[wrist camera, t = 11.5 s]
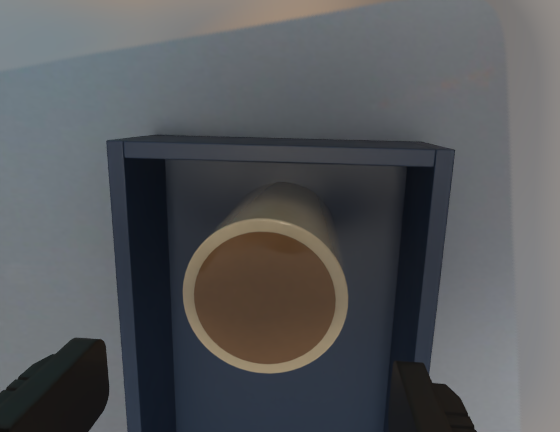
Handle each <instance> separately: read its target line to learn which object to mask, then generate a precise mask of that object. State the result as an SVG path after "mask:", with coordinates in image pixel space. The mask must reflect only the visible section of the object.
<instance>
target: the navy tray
mask: <svg viewBox="0 0 560 432" xmlns="http://www.w3.org/2000/svg"><path fill="white" fill-rule="evenodd" d="M106 143H107V156H108V170H109V184H110V197H111V211H112V224H113V238H114V252H115V265H116V279H117V293H118V306H119V320H120V334H121V347H122V361H123V374H124V388H125V402H126V415H127V429H128V432H389V429H388V408H389V398H390V387H391V376H392V367H393V362H394V361H408V362H422V363H424V365H425V367H426V369H427V372H428V374H429V371H430V362H431V353H432V345H433V336H434V327H435V319H436V310H437V302H438V293H439V284H440V276H441V267H442V258H443V250H444V241H445V233H446V224H447V215H448V207H449V198H450V189H451V181H452V172H453V164H454V155H455V150H454V149H449V148H445V147H441V146H437V145H433V144H429V143H425V142H410V141H371V140H331V139H292V138H253V137H214V136H175V135H149V136H140V137H132V138H123V139H114V140H107V141H106ZM270 183H291V184H296V185H299V186H302V187H304V188H307V189H308V190H310V191H312V192H313V193H315V194H316V195H317V196H319V197H320V198H321V199H322V200H323V201H324V202H325V204H326V205H327V206H328V208H329V210H330V211H331V213H332V215H333V218H334V220H335V224H336V228H337V233H338V238H339V244H340V249H341V255H342V260H343V265H344V271H345V276H346V282H347V287H348V310H347V316H346V319H345V322H344V325H343V328H342V330H341V332H340V334H339V336H338V337H337V338H336V340H335V341H334V343H333V344H332V345H331V346H330V347H329V349H328V350H327V351H326V352H325V353H323V354H322V355H321V356H320V357H319V358H317V359H316V360H314V361H312V362H311V363H309V364H307V365H305V366H303V367H301V368H298V369H295V370H292V371H287V372H282V373H271V374H269V373H256V372H250V371H246V370H243V369H240V368H237V367H235V366H232V365H230V364H228V363H226V362H225V361H223V360H221V359H220V358H218V357H217V356H215V355H214V354H213V353H212V352H210V351H209V350H208V349H207V348H206V347H205V346H204V345H203V343H202V342H201V341H200V340H199V339H198V337H197V336H196V334H195V333H194V331H193V330H192V327H191V325H190V323H189V321H188V318H187V315H186V313H185V308H184V303H183V281H184V276H185V272H186V269H187V266H188V264H189V261H190V260H191V258H192V256H193V254H194V253H195V251H196V250H197V249H198V247H199V246H200V245H201V244H202V242H203V241H204V240H205V239H206V238H207V237H208V236H209V235H210V234H211V232H212V231H213V230H214V229H215V228H216V227H217V226H218V225H219V224H220V222H221V221H222V220H223V219H224V218H225V217H226V216H227V215H228V214H229V212H230V211H231V210H232V209H233V208H234V207H235V206H236V205H237V203H238V202H239V201H240V200H241V199H242V198H243V197H244V196H245V195H247V194H248V193H249V192H251V191H252V190H254V189H256V188H258V187H260V186H263V185H267V184H270Z"/></svg>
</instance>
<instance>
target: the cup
mask: <svg viewBox="0 0 560 432" xmlns="http://www.w3.org/2000/svg"><path fill="white" fill-rule="evenodd" d="M183 303H184V308H185V313H186V315H187V318H188V321H189V323H190V325H191V327H192V330H193V331H194V333H195V334H196V336H197V337H198V339H199V340H200V341H201V342H202V343H203V345H204V346H205V347H206V348H207V349H208V350H209V351H210V352H212V353H213V354H214V355H215V356H217V357H218V358H220V359H221V360H223V361H225V362H226V363H228V364H230V365H232V366H235V367H237V368H240V369H243V370H246V371H250V372H256V373H269V374H271V373H282V372H287V371H292V370H295V369H298V368H301V367H303V366H305V365H307V364H309V363H311V362H312V361H314V360H316V359H317V358H319V357H320V356H321V355H322V354H323V353H325V352H326V351H327V350H328V349H329V347H330V346H331V345H332V344H333V343H334V341H335V340H336V338H337V337H338V336H339V334H340V332H341V330H342V328H343V325H344V322H345V319H346V316H347V310H348V287H347V282H346V276H345V271H344V265H343V260H342V255H341V249H340V244H339V238H338V233H337V228H336V224H335V220H334V218H333V215H332V213H331V211H330V210H329V208H328V206H327V205H326V204H325V202H324V201H323V200H322V199H321V198H320V197H319V196H317V195H316V194H315V193H313V192H312V191H310V190H308V189H307V188H304V187H302V186H299V185H296V184H291V183H270V184H267V185H263V186H260V187H258V188H256V189H254V190H252V191H251V192H249V193H248V194H247V195H245V196H244V197H243V198H242V199H241V200H240V201H239V202H238V203H237V205H236V206H235V207H234V208H233V209H232V210H231V211H230V212H229V214H228V215H227V216H226V217H225V218H224V219H223V220H222V221H221V222H220V224H219V225H218V226H217V227H216V228H215V229H214V230H213V231H212V232H211V234H210V235H209V236H208V237H207V238H206V239H205V240H204V241H203V242H202V244H201V245H200V246H199V247H198V249H197V250H196V251H195V253H194V254H193V256H192V258H191V260H190V261H189V264H188V266H187V269H186V272H185V276H184V281H183Z"/></svg>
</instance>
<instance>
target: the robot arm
mask: <svg viewBox="0 0 560 432" xmlns="http://www.w3.org/2000/svg"><path fill="white" fill-rule="evenodd" d="M108 396H109V379H108V367H107V355H106V346H105V343H104V341H103V340H101V339H89V338H73V339H72V340H70V341H69V342H68V343H67V344H66V345H65V346H64V347H63V348H62V349H60V350H59V351H58V352H57V353H56V354H52V355H50V356H48V357H46V358H44V359H42V360H40V361H39V362H37V363H35V364H33V365H32V366H31V367H29V368H28V369H27V370H26V371H25V372H24V373H22V374H21V375H20V376H19V377H18V380H14V381H13V382H12V383H11V384H10V385H9V386H8V387H7V388H6V390H3V391H2V392H1V393H0V432H88V431H89V430H90V429H91V427H92V426H93V425H94V423H95V422H96V420H97V419H98V418H99V416H100V415H101V414H102V412H103V411H104V409H105V406H106V404H107V401H108ZM388 429H389V432H477V431H476V430H475V429H474V425H473V423H472V421H471V419H470V417H468V413H467V411H466V409H465V407H464V405H463V403H462V401H461V399H460V397H459V396H458V395H456V394H455V393H454V392H453V391H452V390H451V389H450V388H449V387H448V386H447V385H446V384H437V383H432V381H431V379H430V376H429V374H428V372H427V369H426V367H425V365H424V363H422V362H408V361H394V362H393V367H392V376H391V387H390V398H389V408H388Z"/></svg>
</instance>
